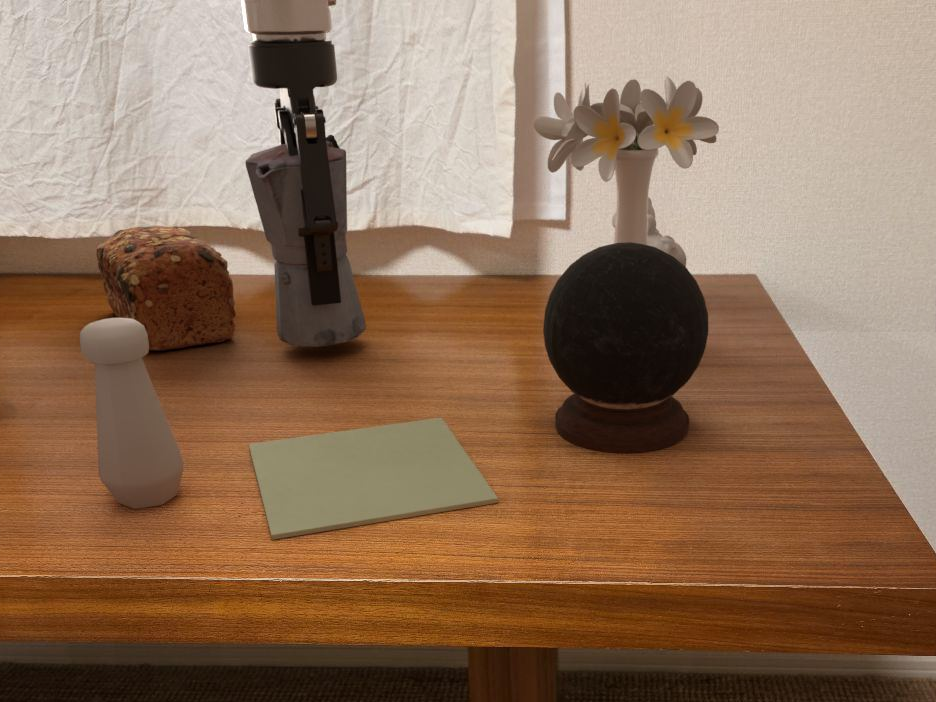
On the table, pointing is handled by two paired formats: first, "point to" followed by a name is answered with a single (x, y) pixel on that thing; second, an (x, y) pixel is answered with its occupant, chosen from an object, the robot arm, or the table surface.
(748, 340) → the table surface
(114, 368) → the salt shaker
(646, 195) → the flower vase
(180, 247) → the bread
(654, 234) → the dog figurine
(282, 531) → the centre mat
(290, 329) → the moka pot
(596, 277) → the black ball on stand
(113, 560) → the table surface
